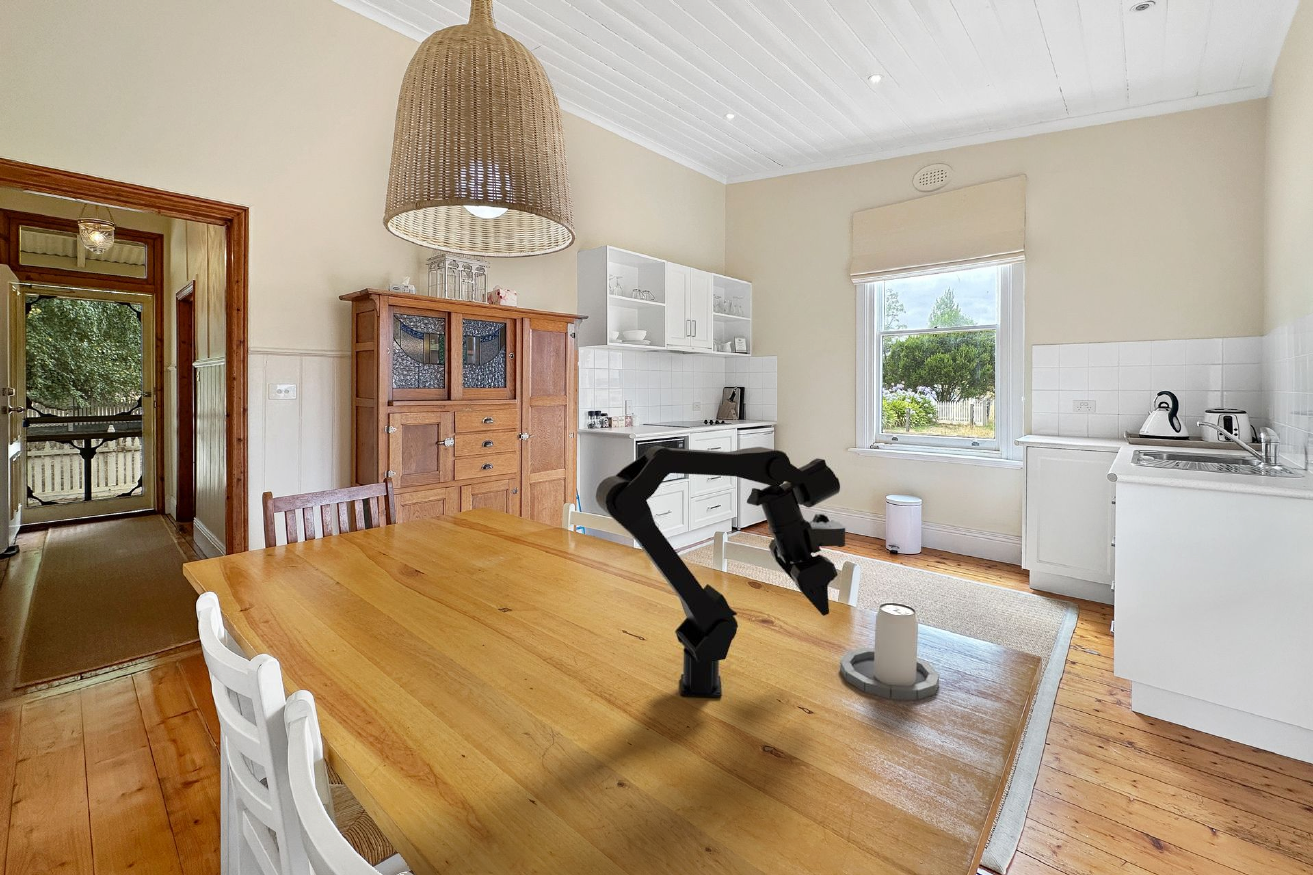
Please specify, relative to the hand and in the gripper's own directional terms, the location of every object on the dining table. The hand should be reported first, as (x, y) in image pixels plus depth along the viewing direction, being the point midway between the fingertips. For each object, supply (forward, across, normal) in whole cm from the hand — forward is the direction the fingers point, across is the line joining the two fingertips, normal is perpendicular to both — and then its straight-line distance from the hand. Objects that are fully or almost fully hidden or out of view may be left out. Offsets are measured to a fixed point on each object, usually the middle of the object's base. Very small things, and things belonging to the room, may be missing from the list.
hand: (816, 603), depth 101 cm
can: (+16, -4, -7) cm, 17 cm away
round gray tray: (+16, -2, -7) cm, 17 cm away
